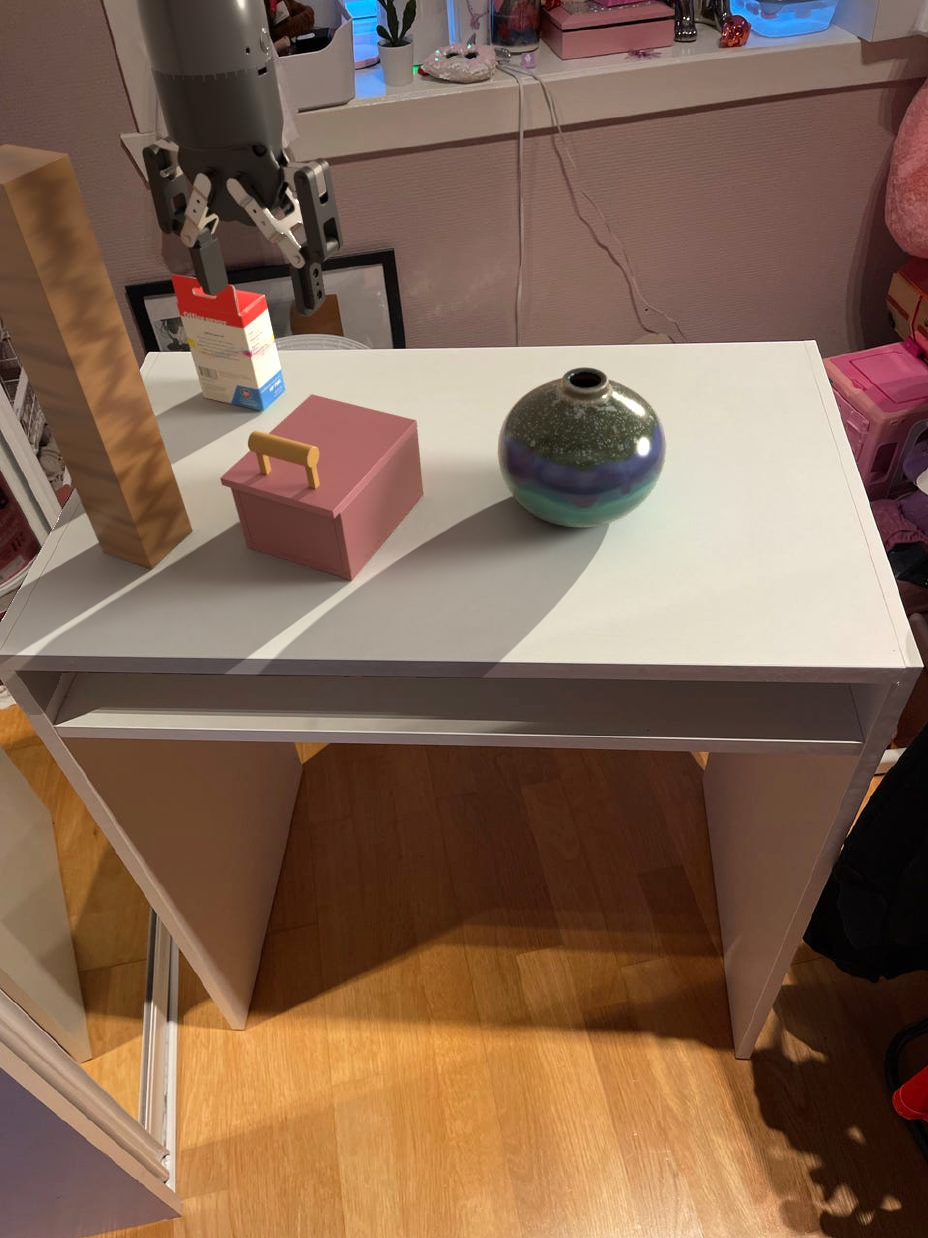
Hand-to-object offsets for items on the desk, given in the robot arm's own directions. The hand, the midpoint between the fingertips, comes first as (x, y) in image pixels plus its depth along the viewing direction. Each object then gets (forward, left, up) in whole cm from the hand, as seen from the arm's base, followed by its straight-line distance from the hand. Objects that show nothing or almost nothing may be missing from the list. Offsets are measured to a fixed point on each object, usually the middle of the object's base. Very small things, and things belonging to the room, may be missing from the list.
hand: (262, 301), depth 67 cm
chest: (+4, 0, -24) cm, 24 cm away
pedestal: (-6, +15, -24) cm, 29 cm away
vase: (+16, -20, -24) cm, 35 cm away
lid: (+4, 0, -16) cm, 17 cm away
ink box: (+19, +22, -24) cm, 38 cm away
